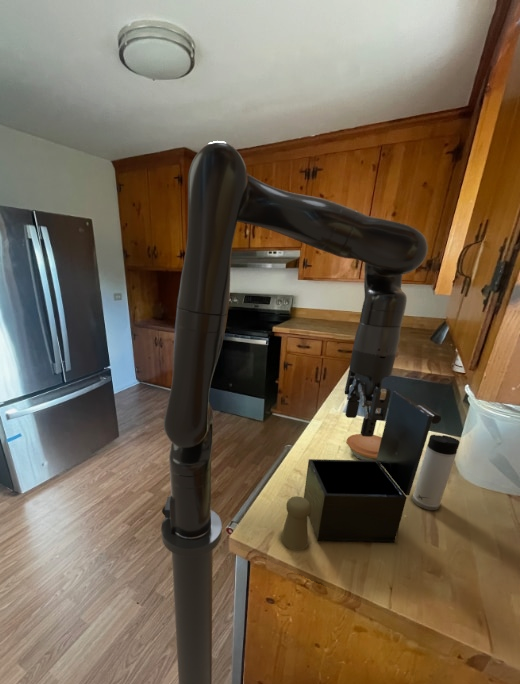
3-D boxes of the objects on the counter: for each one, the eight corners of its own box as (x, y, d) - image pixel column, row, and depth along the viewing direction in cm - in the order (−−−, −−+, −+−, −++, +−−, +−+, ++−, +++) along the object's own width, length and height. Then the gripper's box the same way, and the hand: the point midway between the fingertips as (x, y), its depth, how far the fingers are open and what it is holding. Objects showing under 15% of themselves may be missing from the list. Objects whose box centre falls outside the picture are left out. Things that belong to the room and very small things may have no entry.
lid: (429, 416, 63) (458, 417, 63) (393, 390, 77) (417, 391, 77) (405, 495, 70) (431, 496, 70) (376, 458, 84) (398, 459, 84)
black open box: (317, 541, 75) (324, 495, 70) (303, 499, 89) (308, 459, 84) (394, 543, 75) (407, 497, 70) (368, 501, 89) (377, 460, 84)
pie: (394, 471, 102) (398, 457, 100) (342, 459, 108) (344, 446, 106) (394, 449, 115) (397, 436, 113) (347, 439, 121) (349, 427, 119)
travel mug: (418, 510, 86) (438, 442, 78) (408, 494, 92) (426, 430, 84) (444, 512, 85) (466, 444, 77) (432, 496, 91) (452, 432, 83)
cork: (304, 530, 78) (309, 492, 74) (310, 550, 73) (316, 510, 69) (279, 529, 78) (283, 491, 74) (283, 550, 73) (287, 510, 69)
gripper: (341, 340, 68) (329, 411, 74) (370, 357, 55) (352, 442, 61) (377, 341, 68) (362, 412, 74) (415, 358, 55) (392, 443, 61)
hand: (358, 425), depth 68 cm, fingers open, 8 cm apart
